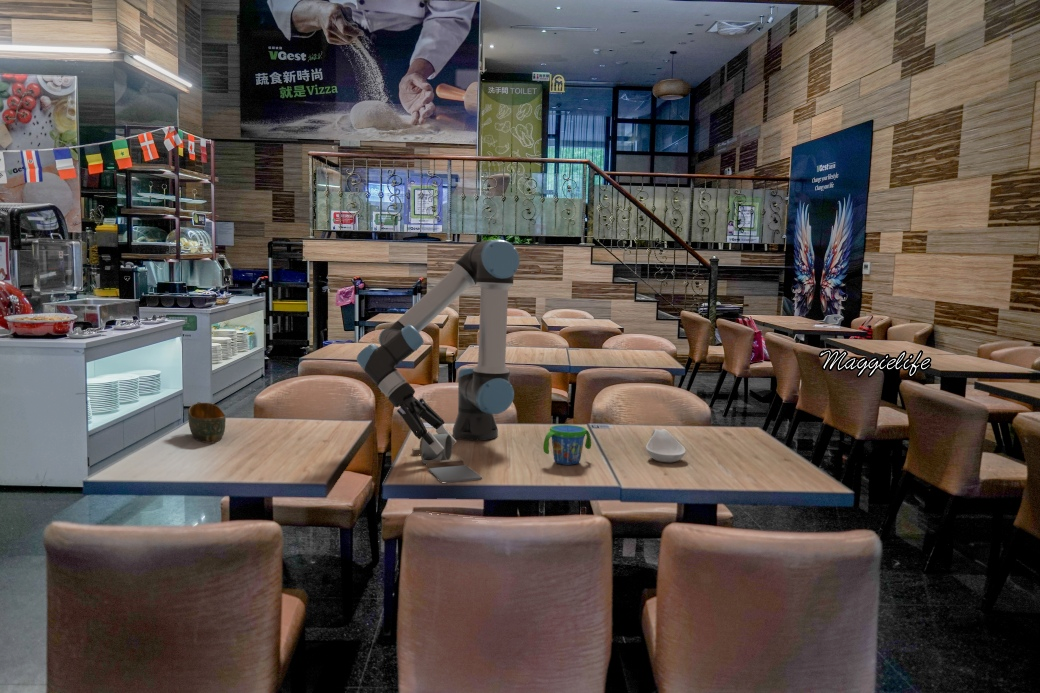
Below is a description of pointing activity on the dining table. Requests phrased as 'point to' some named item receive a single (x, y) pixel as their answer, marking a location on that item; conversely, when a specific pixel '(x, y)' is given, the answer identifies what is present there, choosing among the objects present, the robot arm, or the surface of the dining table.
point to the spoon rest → (664, 447)
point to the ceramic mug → (430, 454)
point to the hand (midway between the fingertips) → (446, 447)
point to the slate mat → (455, 473)
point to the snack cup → (567, 443)
